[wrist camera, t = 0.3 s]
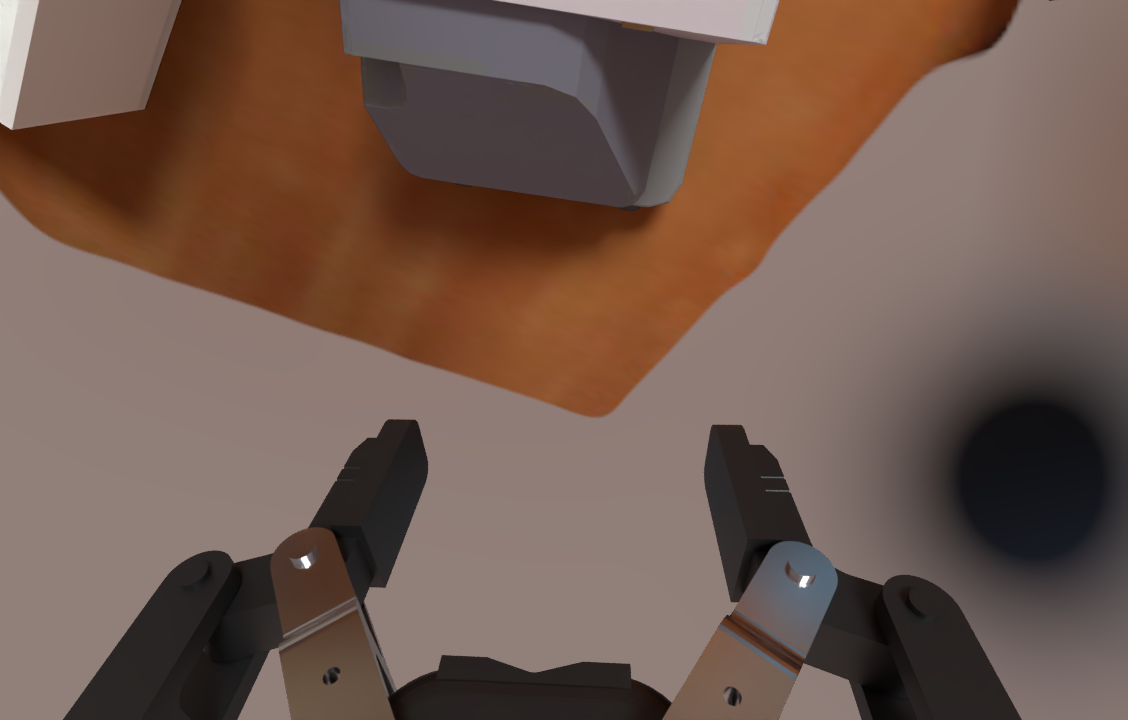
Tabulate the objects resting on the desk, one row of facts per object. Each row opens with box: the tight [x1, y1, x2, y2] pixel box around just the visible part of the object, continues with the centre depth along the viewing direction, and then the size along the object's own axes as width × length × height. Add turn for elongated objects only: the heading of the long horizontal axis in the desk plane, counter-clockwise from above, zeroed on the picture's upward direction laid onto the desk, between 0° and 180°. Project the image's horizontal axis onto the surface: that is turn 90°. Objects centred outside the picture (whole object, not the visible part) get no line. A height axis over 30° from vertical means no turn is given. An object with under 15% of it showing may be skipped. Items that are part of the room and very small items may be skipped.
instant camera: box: [340, 0, 779, 211], centre depth 27 cm, size 21×21×15 cm
